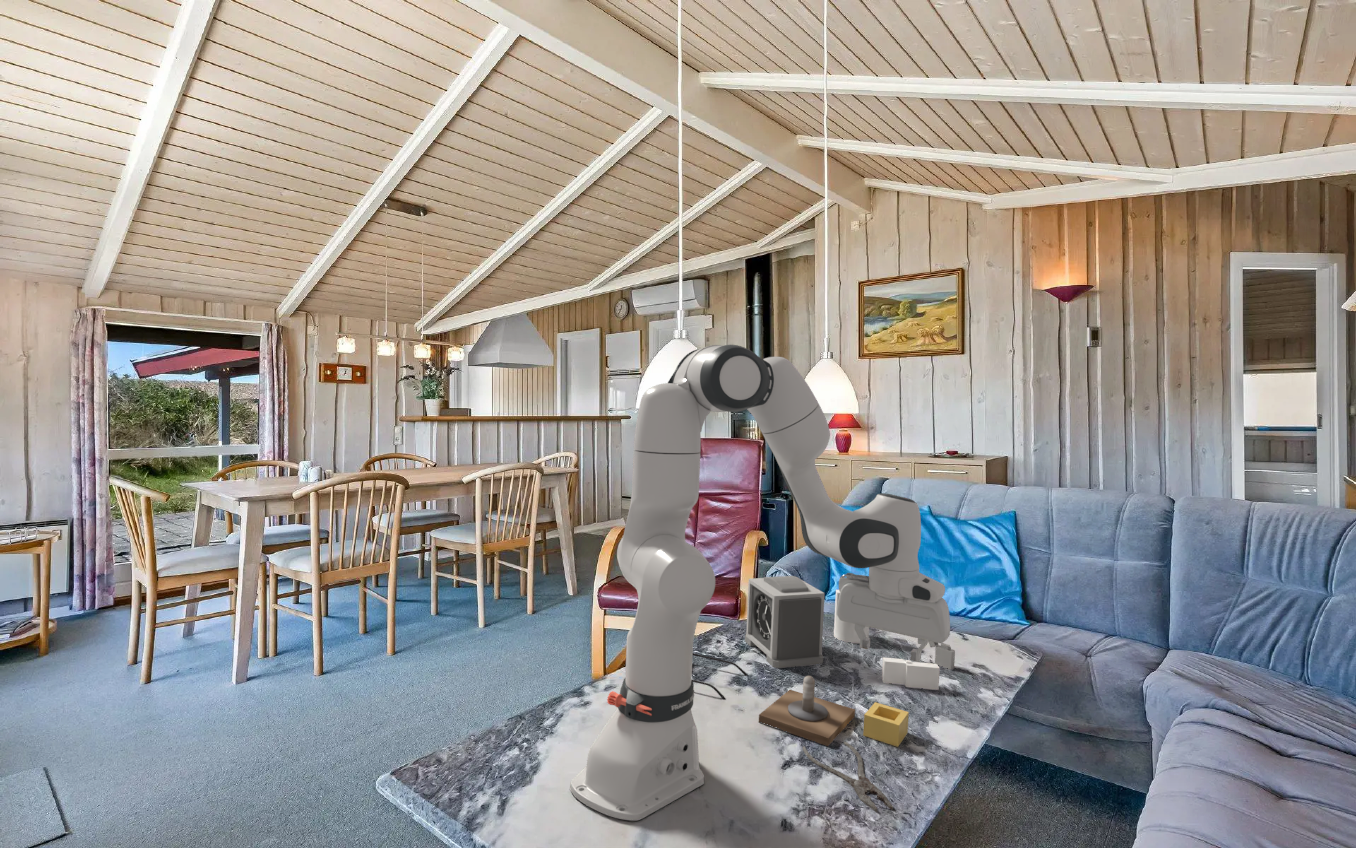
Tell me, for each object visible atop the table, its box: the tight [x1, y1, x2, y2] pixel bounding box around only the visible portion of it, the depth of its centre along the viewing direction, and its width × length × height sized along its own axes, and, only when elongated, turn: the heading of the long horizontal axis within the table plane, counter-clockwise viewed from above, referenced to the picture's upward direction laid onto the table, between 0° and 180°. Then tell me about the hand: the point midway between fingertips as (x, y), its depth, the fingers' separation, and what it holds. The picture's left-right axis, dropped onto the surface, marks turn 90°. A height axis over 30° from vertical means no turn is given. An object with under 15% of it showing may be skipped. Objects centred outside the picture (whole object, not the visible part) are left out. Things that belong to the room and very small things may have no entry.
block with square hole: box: [862, 702, 910, 748], centre depth 123 cm, size 6×6×4 cm
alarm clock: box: [744, 575, 825, 669], centre depth 162 cm, size 18×13×18 cm
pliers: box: [802, 741, 894, 813], centre depth 110 cm, size 10×1×20 cm
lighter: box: [928, 641, 956, 670], centre depth 158 cm, size 7×2×8 cm, turn 42°
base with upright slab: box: [833, 589, 870, 644], centre depth 174 cm, size 9×9×12 cm
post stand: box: [758, 675, 856, 747], centre depth 128 cm, size 14×14×9 cm
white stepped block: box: [881, 657, 941, 691], centre depth 147 cm, size 15×11×6 cm
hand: (889, 654), depth 123 cm, fingers open, 8 cm apart
